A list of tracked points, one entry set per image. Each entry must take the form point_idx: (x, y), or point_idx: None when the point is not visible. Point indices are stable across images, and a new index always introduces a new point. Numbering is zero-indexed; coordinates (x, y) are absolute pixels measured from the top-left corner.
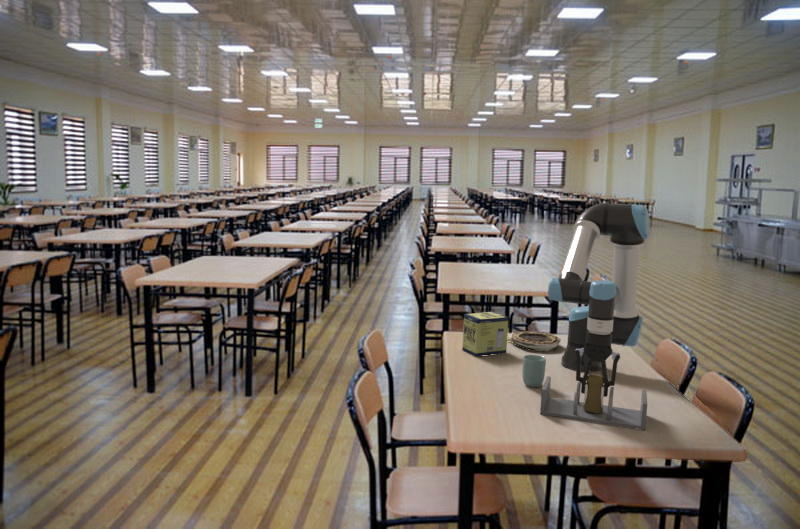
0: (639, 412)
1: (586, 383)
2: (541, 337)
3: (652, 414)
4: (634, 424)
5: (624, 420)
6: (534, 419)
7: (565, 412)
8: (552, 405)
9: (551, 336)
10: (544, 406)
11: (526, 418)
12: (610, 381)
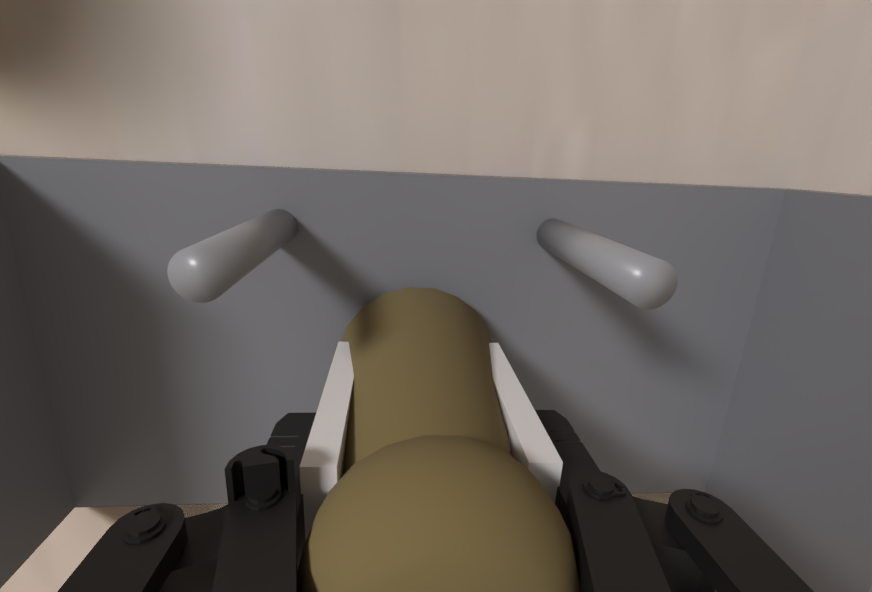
0: (767, 234)
1: (313, 516)
2: None
3: (856, 162)
4: (674, 474)
5: (623, 437)
6: (59, 579)
7: (224, 460)
8: (90, 362)
9: None
10: (43, 538)
11: (6, 585)
12: (668, 582)
